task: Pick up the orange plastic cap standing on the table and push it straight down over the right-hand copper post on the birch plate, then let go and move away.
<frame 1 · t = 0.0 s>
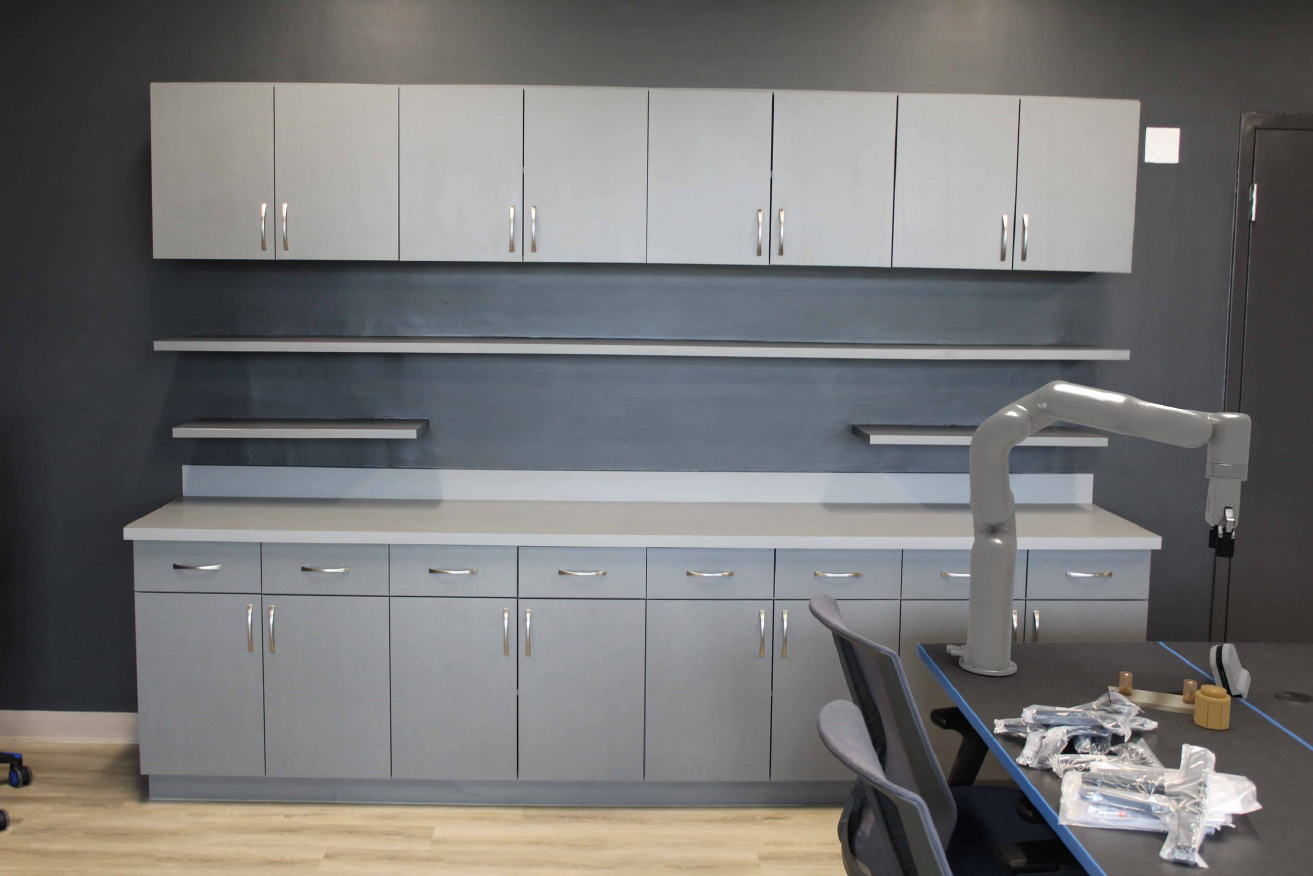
hand: (1220, 552, 209), 31 cm above the table, tool pointing down, fingers open, 9 cm apart
hinge: (1228, 687, 219), on the table
plate: (1156, 703, 207), on the table
post left: (1124, 699, 209), resting on plate
post right: (1188, 708, 205), resting on plate
cap: (1211, 724, 196), on the table
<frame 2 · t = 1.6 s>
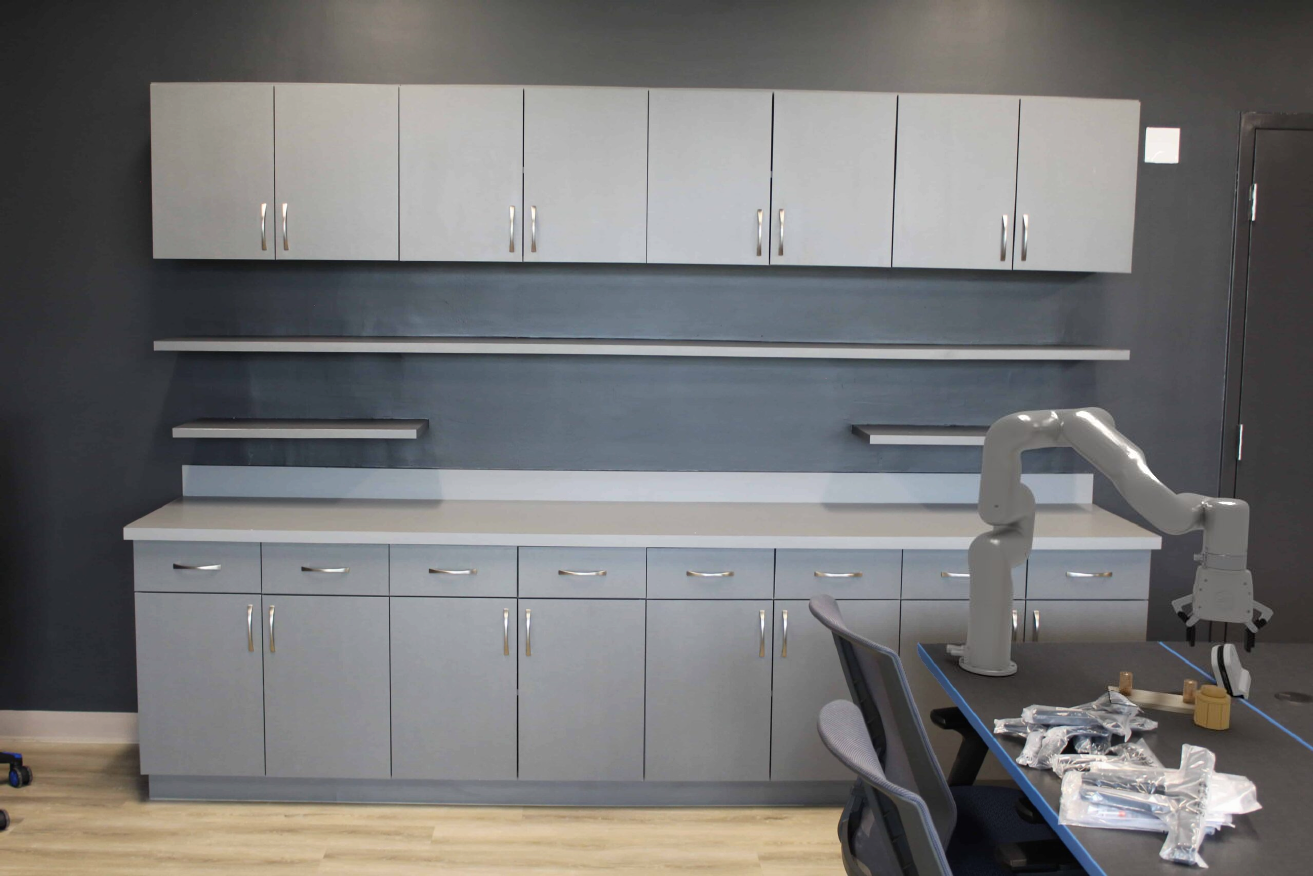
hand: (1219, 647, 195), 16 cm above the table, tool pointing down, fingers open, 9 cm apart
nothing on the table moved.
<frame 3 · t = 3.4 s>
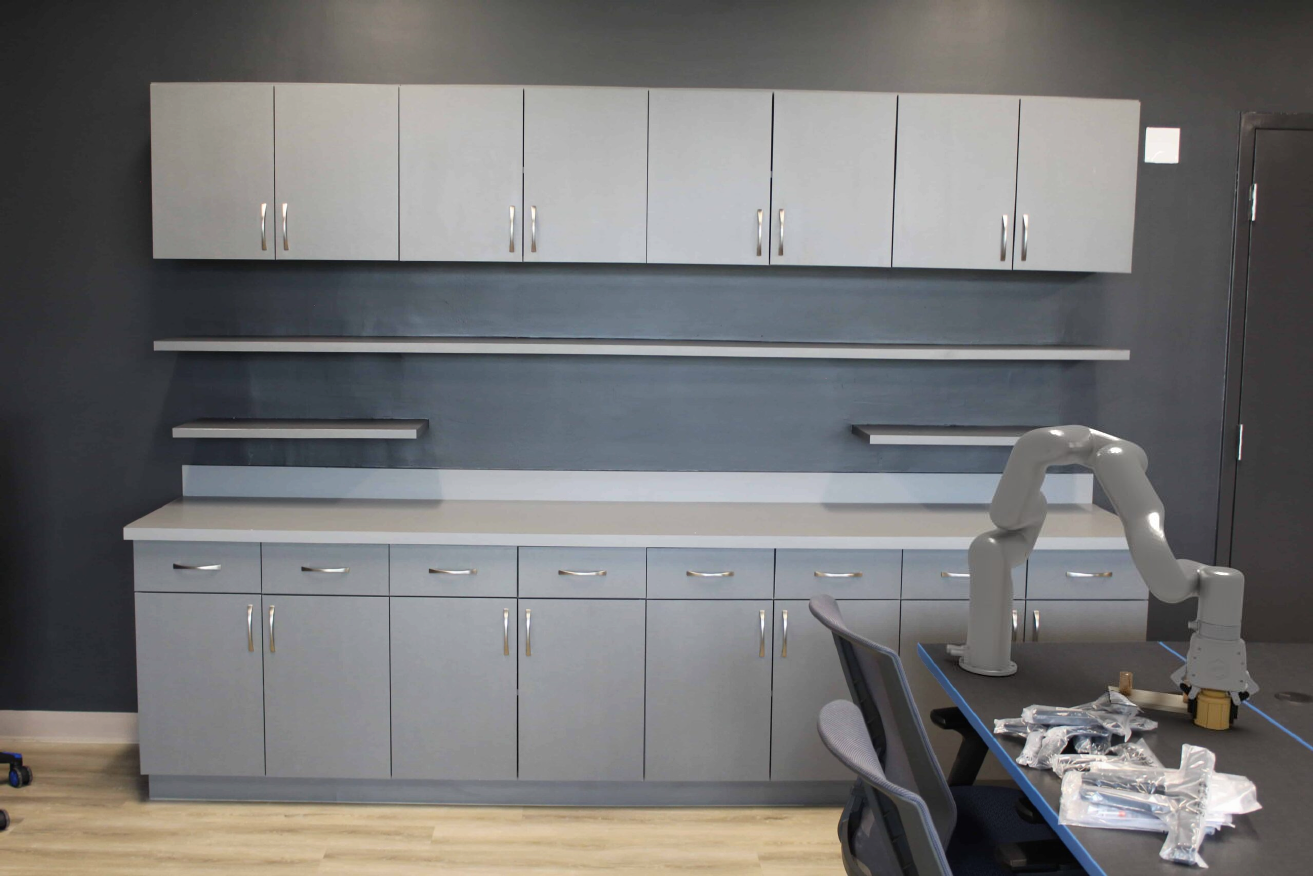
hand: (1211, 718, 196), 1 cm above the table, tool pointing down, fingers closed on cap, 5 cm apart
cap: (1211, 724, 196), on the table, touching gripper
everything else where it was.
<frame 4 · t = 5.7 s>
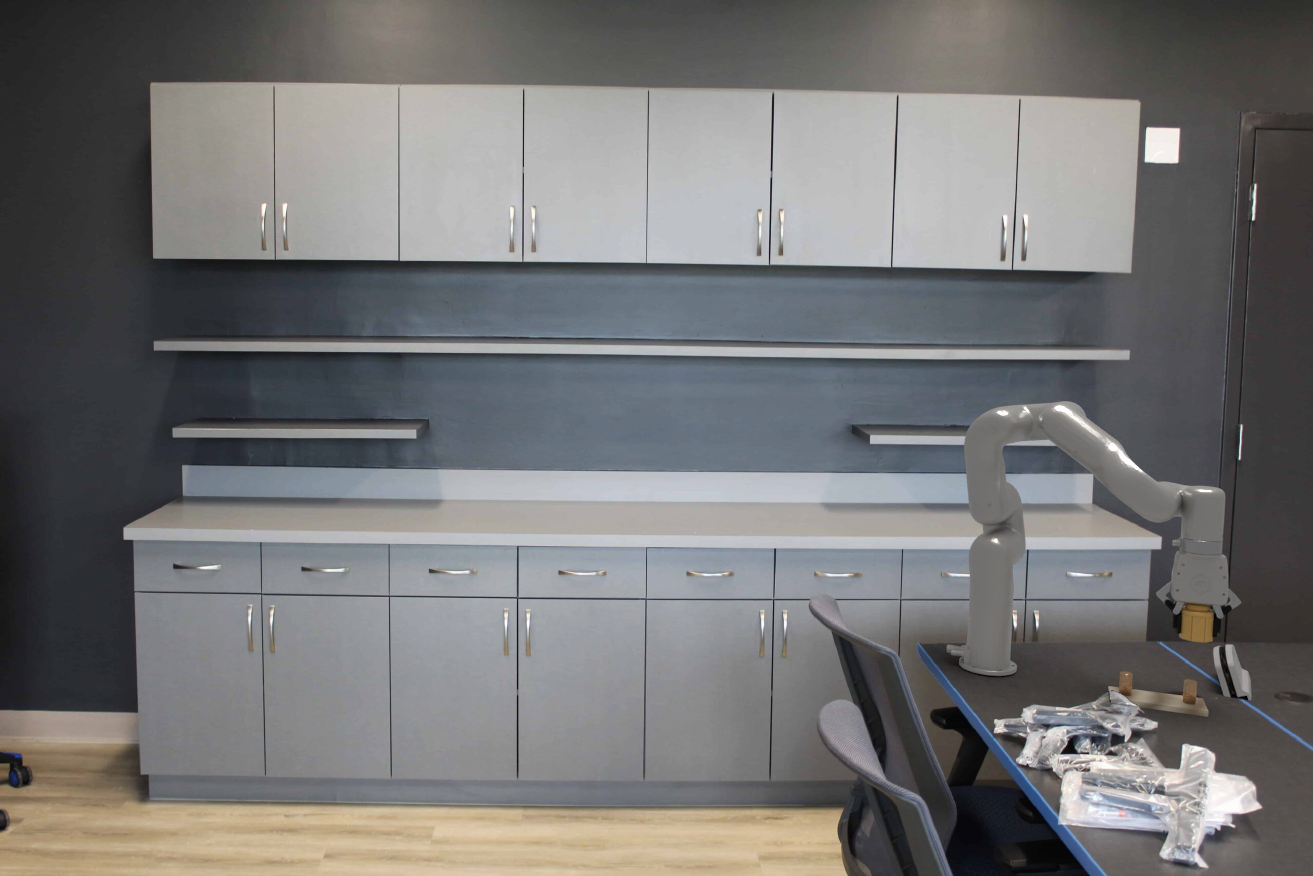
hand: (1195, 633, 203), 16 cm above the table, tool pointing down, fingers closed on cap, 5 cm apart
cap: (1195, 638, 203), point 15 cm above the table, touching gripper
everything else where it was.
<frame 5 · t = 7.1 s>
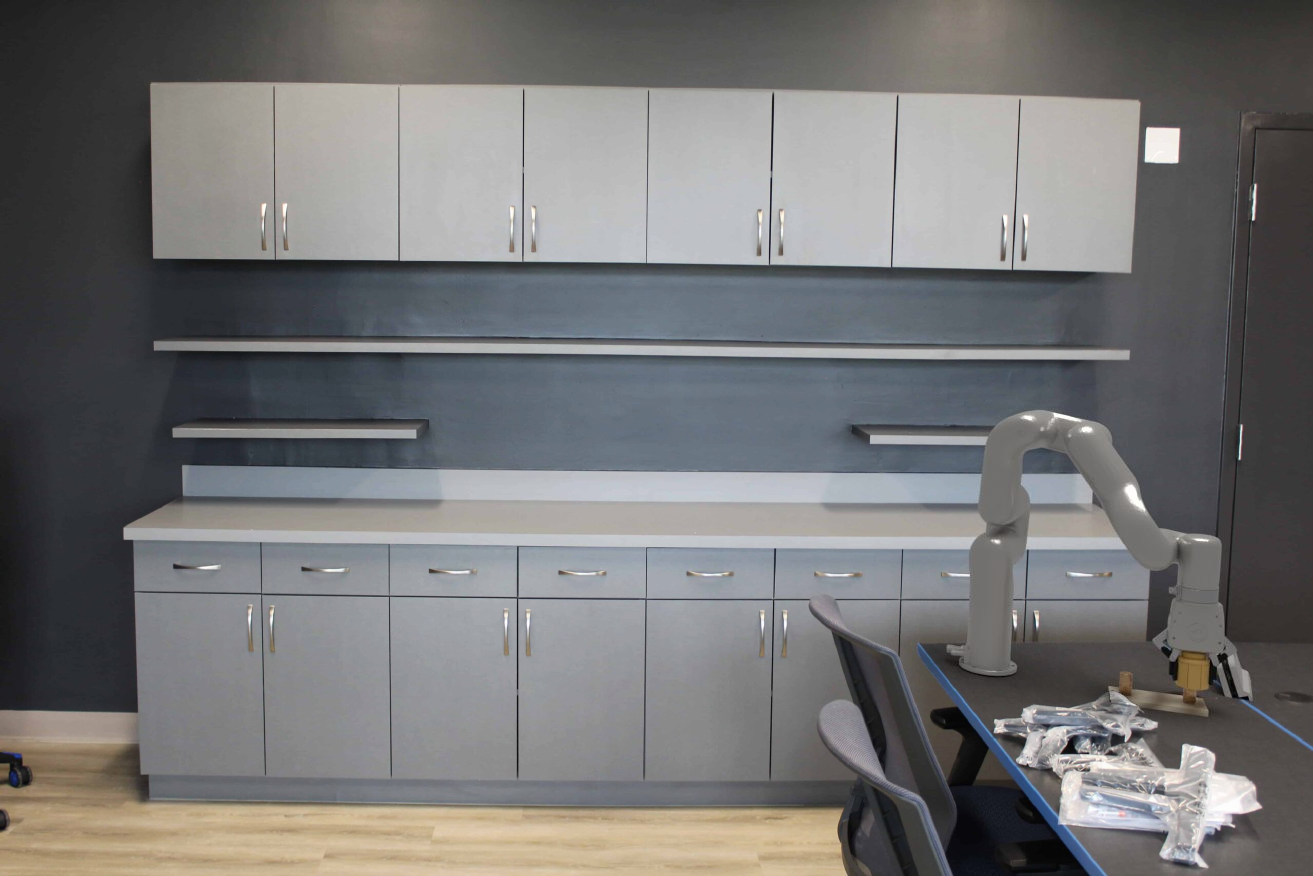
hand: (1191, 680, 204), 6 cm above the table, tool pointing down, fingers closed on cap, 5 cm apart
cap: (1191, 685, 204), point 5 cm above the table, touching gripper
everything else where it was.
when the fingers open (3 cm above the table, at t = 8.2 s): cap stays where it is, resting on plate.
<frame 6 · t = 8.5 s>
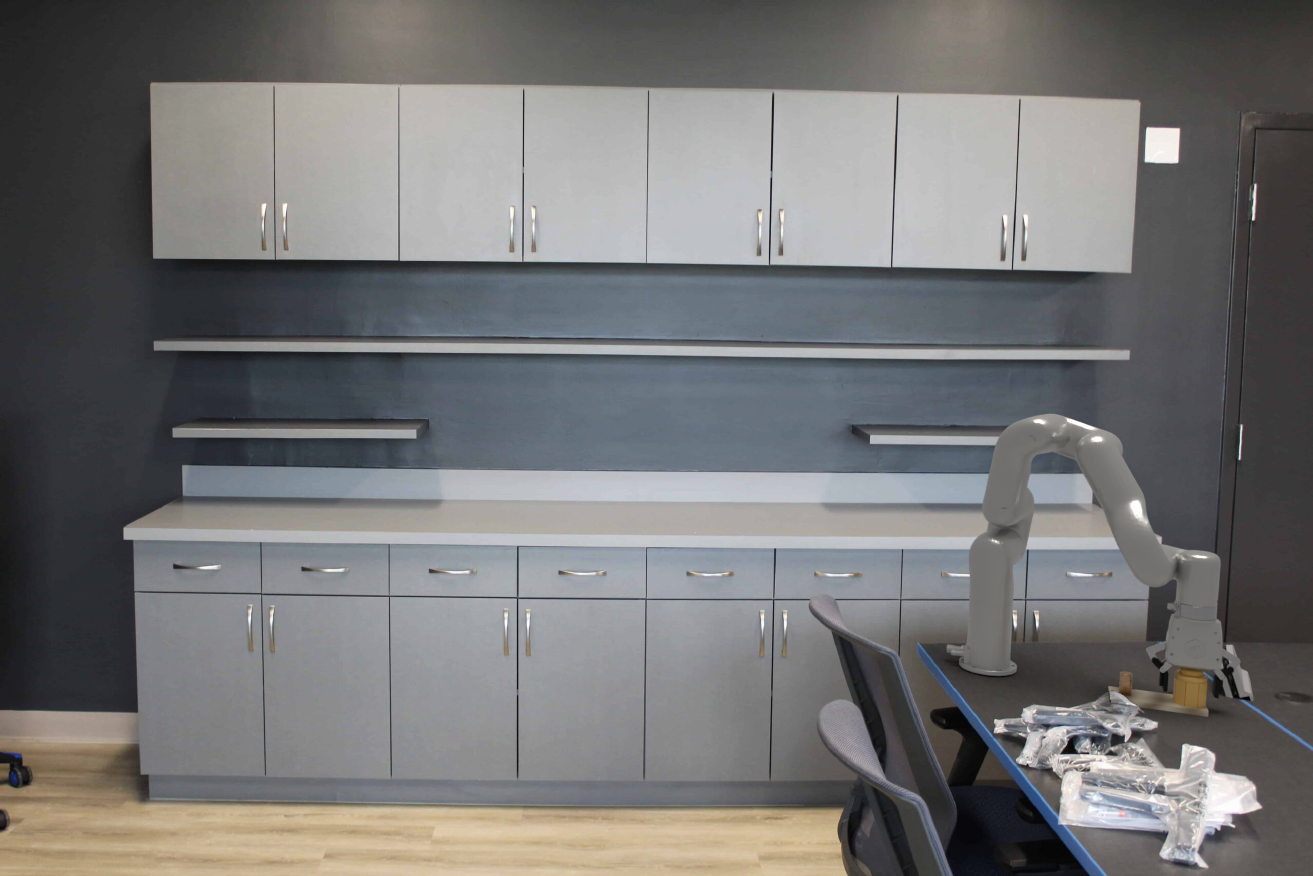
hand: (1189, 693, 205), 3 cm above the table, tool pointing down, fingers open, 9 cm apart
cap: (1189, 702, 205), point 1 cm above the table, touching plate
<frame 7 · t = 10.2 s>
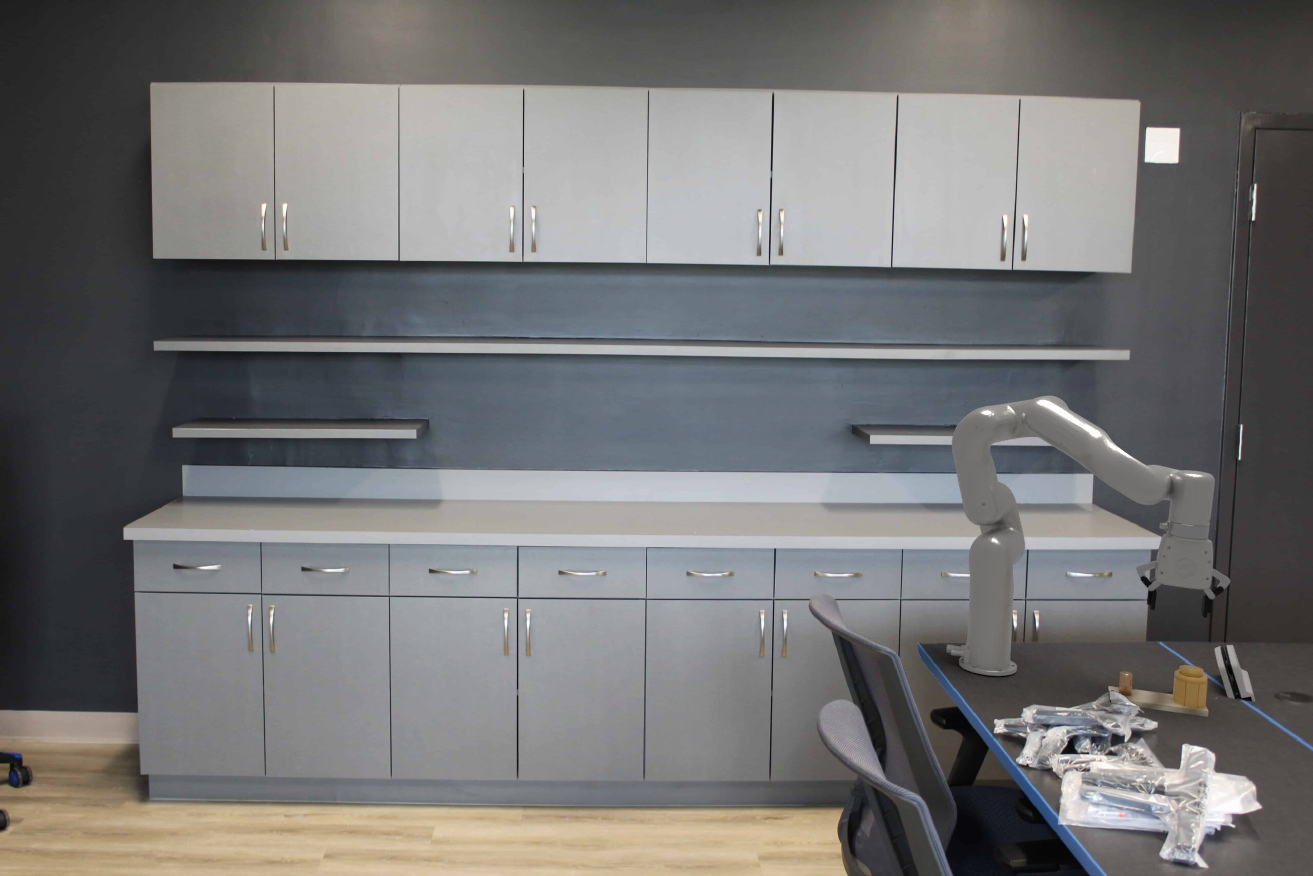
hand: (1177, 612, 205), 20 cm above the table, tool pointing down, fingers open, 9 cm apart
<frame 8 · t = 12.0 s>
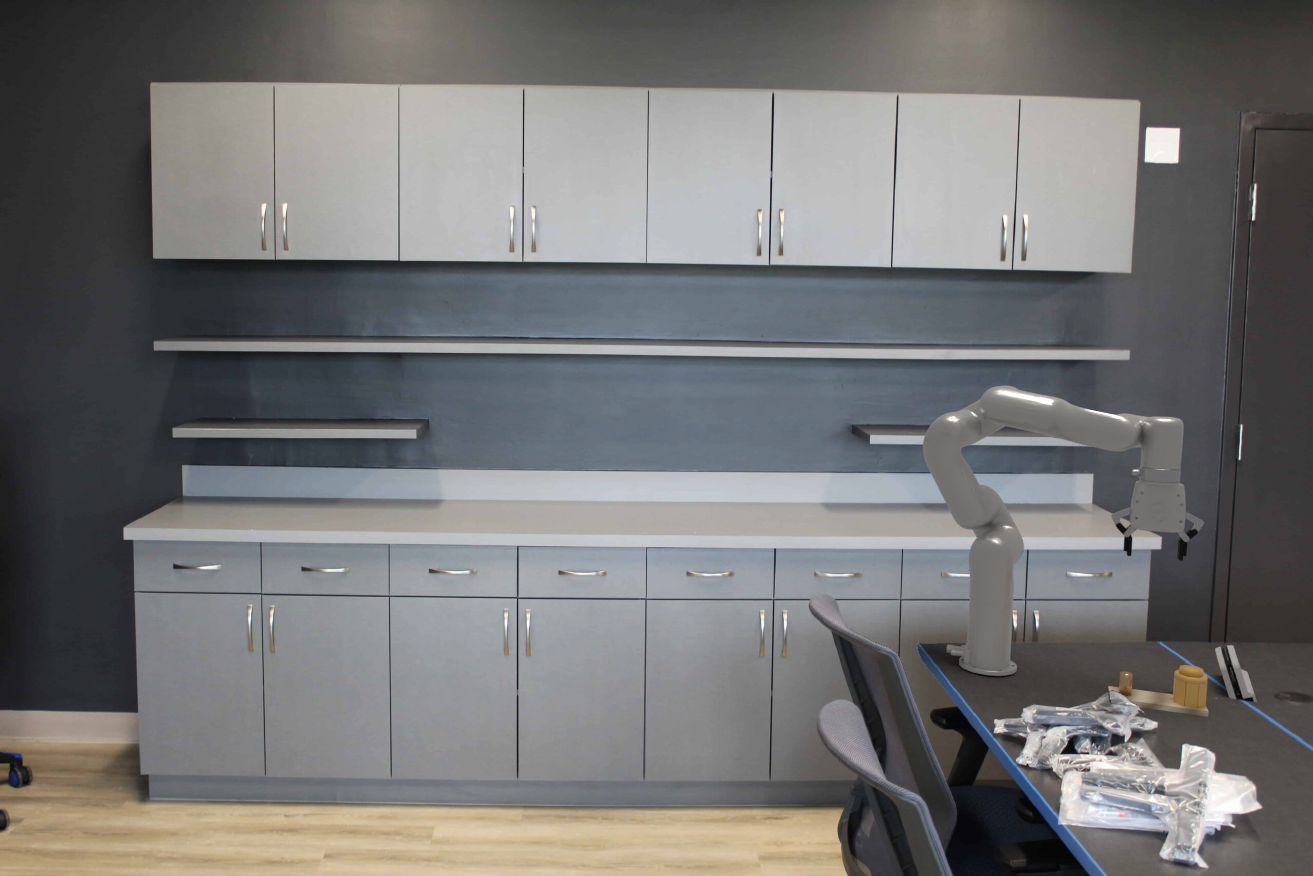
hand: (1154, 557, 208), 30 cm above the table, tool pointing down, fingers open, 9 cm apart
at the end: cap 0.0 cm off-centre on the post right, point 1.2 cm above the post right's base; cap tilted 0°; the gripper is holding nothing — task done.
